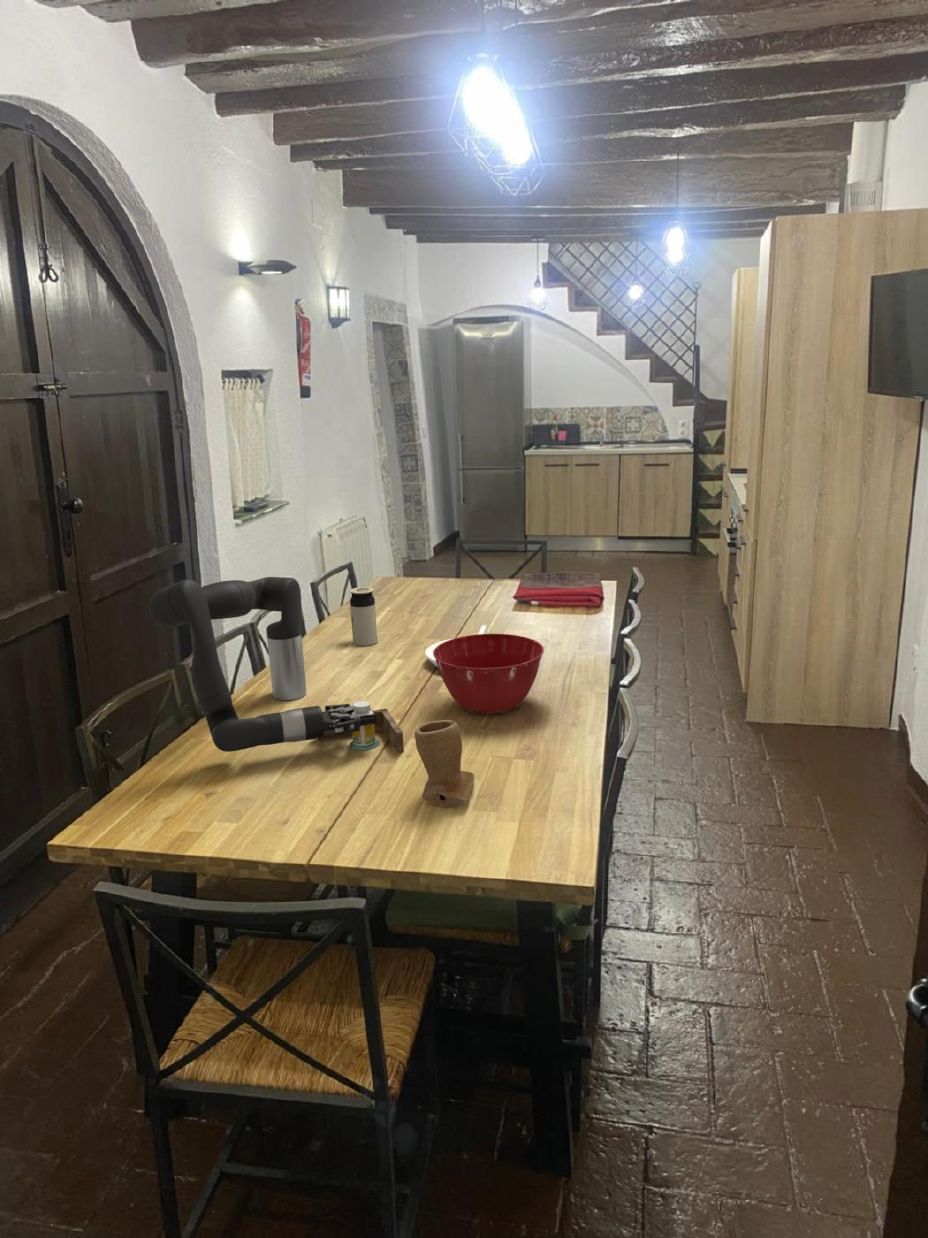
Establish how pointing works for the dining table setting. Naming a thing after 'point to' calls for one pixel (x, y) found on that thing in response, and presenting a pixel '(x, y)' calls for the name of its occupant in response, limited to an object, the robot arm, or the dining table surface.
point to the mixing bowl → (489, 670)
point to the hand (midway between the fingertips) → (372, 714)
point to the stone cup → (443, 763)
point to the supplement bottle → (366, 731)
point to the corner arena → (383, 723)
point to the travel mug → (363, 616)
